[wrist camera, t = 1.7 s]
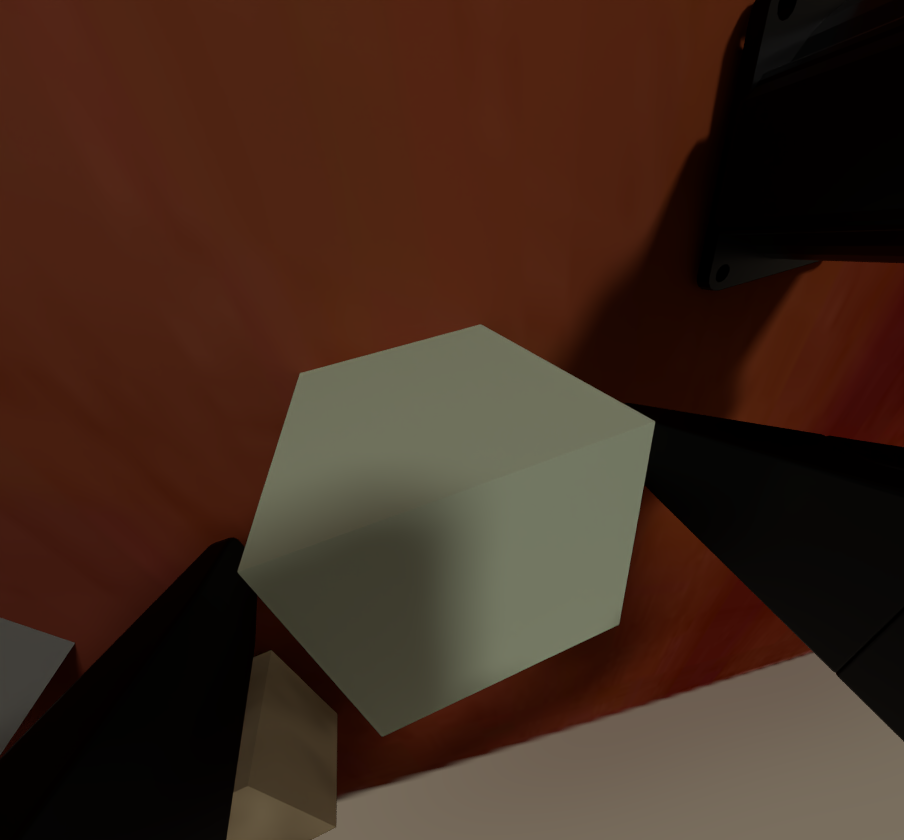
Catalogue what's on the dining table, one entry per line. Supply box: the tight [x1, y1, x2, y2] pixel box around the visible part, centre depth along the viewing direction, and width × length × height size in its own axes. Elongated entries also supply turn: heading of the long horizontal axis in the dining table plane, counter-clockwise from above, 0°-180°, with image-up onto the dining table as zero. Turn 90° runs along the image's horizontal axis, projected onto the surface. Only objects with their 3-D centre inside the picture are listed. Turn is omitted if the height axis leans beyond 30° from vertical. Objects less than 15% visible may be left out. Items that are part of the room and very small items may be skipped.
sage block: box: [237, 325, 655, 737], centre depth 7 cm, size 5×5×6 cm
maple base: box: [226, 650, 337, 840], centre depth 12 cm, size 7×7×4 cm
